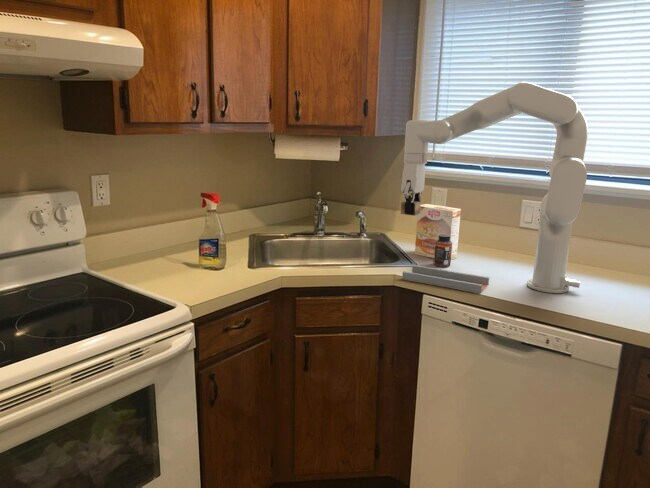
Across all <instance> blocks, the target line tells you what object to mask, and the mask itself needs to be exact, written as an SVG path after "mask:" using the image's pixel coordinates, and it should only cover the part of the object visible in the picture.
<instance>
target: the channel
mask: <svg viewBox="0 0 650 488" xmlns="http://www.w3.org/2000/svg"><path fill="white" fill-rule="evenodd" d="M411 268H412V269H411V271H406V270H405V271H402V277H401V280H404V281H409V282H410V281H411V282H415V283H416V282H417V283H421V284H427V285H430V286H431V285H432V286H438V287H443V288H450V289H455V290H460V291H465V292H470V293H477V294H482V293H483V292H484V291H485V290H486V288H487V287H488V286H489V285H490V276H484V275H479V274H478V275H477V274H472V273H465V272H461V271H460V272H459V271H452V270H447V269H441V268H435V267H429V266H428V267H427V266H423V265H417V264H413V265H412V266H411Z"/></svg>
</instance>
